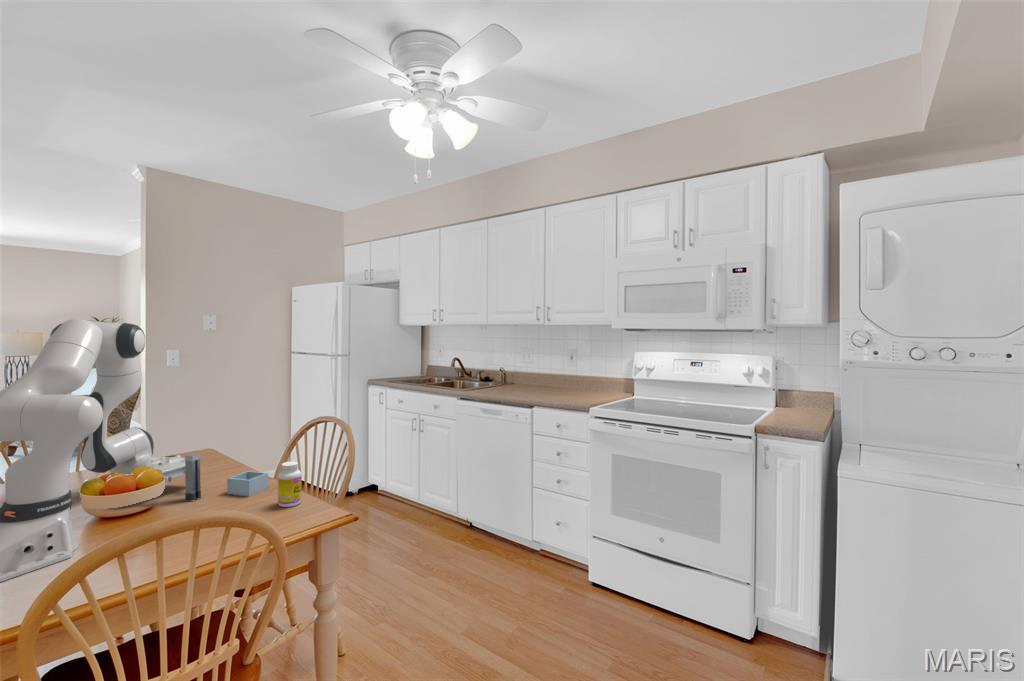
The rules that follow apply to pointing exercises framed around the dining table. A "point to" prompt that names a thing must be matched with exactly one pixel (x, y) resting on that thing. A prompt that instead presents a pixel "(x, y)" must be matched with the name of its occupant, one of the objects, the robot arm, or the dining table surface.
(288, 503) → the supplement bottle
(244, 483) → the blue-gray square tray
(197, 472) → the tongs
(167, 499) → the dining table surface
